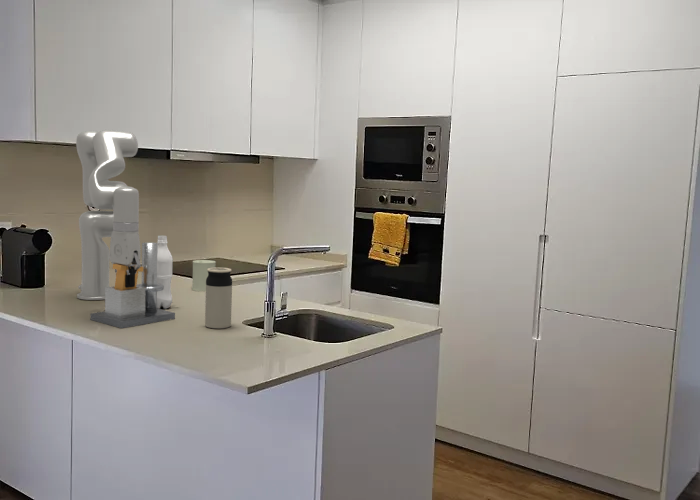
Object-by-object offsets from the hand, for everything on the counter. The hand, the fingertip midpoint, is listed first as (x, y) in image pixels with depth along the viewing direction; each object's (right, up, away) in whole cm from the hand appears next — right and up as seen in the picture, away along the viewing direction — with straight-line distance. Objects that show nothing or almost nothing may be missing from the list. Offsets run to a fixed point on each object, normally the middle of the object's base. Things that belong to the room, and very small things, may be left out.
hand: (125, 285), depth 215 cm
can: (+11, -5, +62) cm, 63 cm away
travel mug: (+29, -13, -1) cm, 32 cm away
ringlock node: (+1, -11, +4) cm, 12 cm away
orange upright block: (0, -4, 0) cm, 4 cm away
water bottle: (+5, -9, +23) cm, 26 cm away
